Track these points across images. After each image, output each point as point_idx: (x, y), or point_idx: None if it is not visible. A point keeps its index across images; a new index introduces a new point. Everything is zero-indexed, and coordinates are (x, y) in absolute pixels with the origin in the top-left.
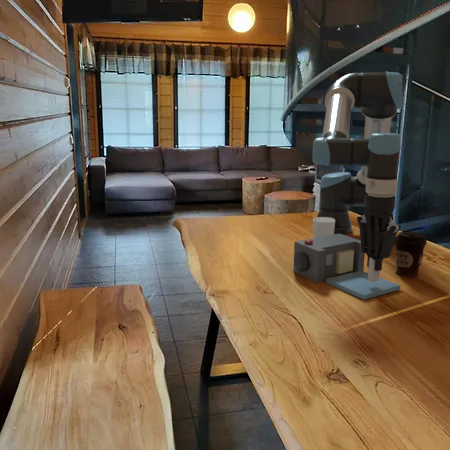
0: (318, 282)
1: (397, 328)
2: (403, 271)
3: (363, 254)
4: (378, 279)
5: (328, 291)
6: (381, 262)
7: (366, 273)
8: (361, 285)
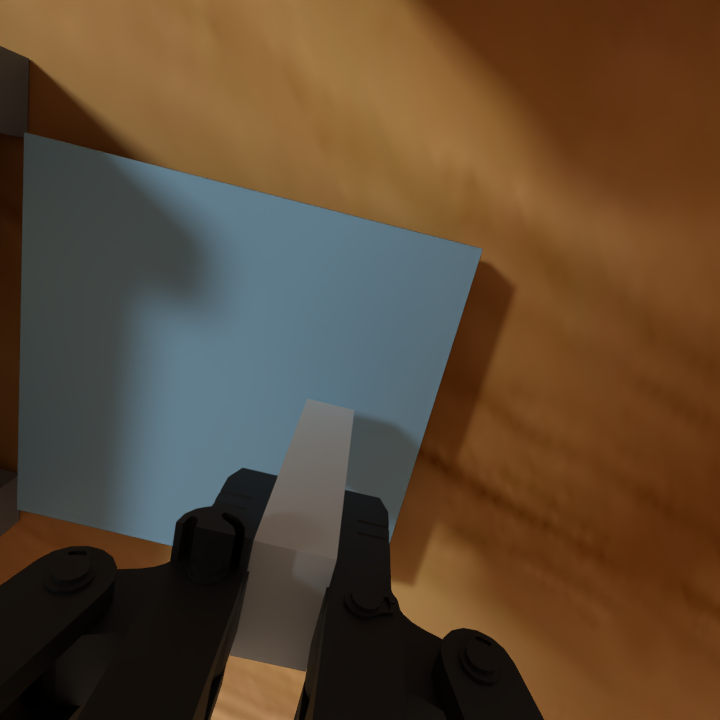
0: (7, 522)
1: (643, 688)
2: None
3: None
4: (351, 419)
5: (135, 554)
6: (386, 580)
7: (109, 176)
8: (261, 462)
